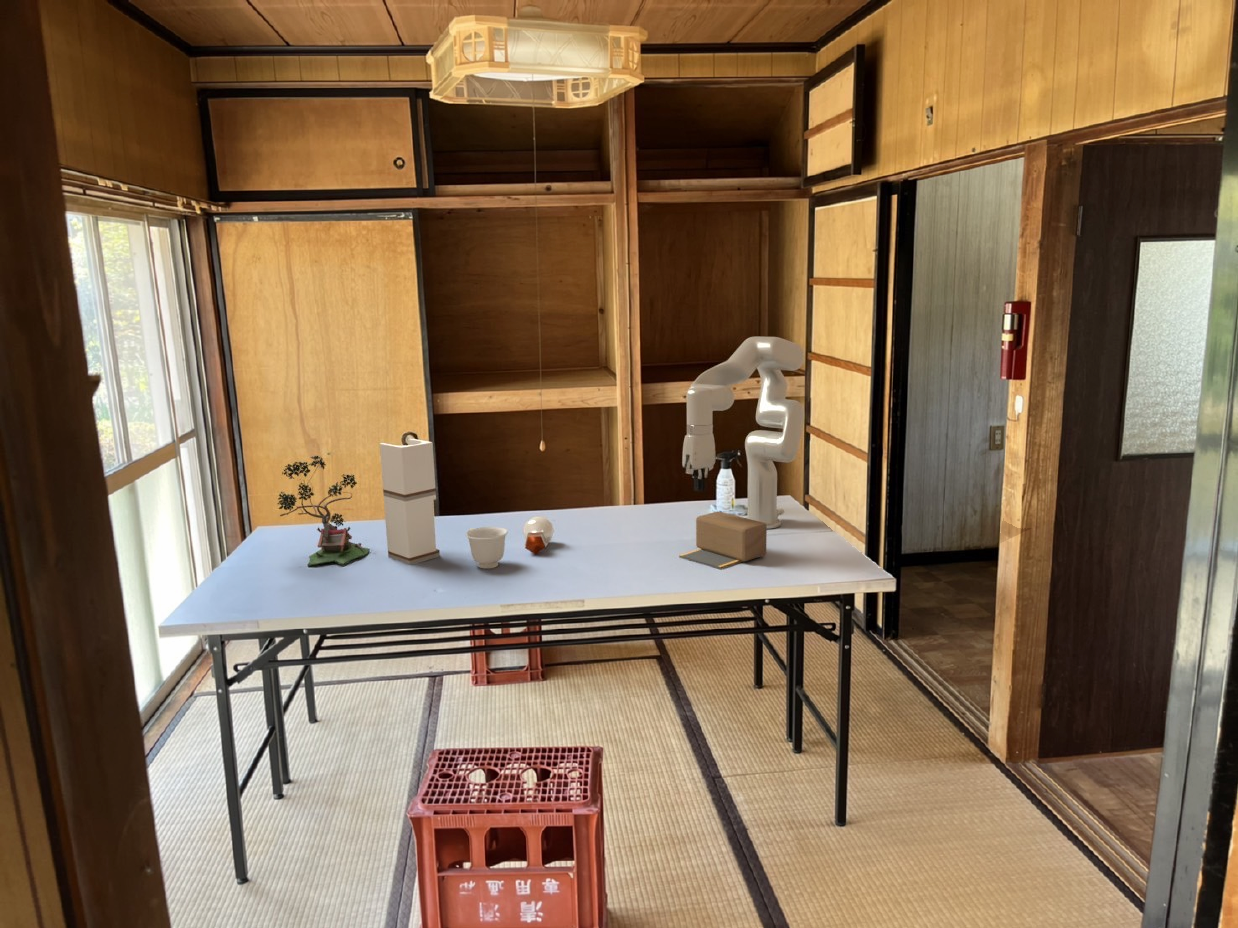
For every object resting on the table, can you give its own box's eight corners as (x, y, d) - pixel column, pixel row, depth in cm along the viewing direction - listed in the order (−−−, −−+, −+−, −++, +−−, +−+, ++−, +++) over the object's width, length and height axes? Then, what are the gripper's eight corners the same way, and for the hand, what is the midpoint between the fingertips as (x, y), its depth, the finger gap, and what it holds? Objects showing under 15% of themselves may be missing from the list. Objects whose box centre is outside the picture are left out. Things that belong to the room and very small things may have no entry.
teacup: (487, 554, 262) (485, 522, 260) (517, 565, 251) (516, 531, 249) (453, 564, 254) (451, 531, 252) (483, 575, 243) (481, 540, 241)
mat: (719, 544, 267) (719, 542, 267) (760, 555, 255) (760, 553, 255) (679, 557, 255) (679, 555, 255) (720, 569, 244) (720, 567, 243)
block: (717, 541, 268) (767, 555, 253) (694, 548, 262) (744, 562, 247) (717, 510, 266) (768, 522, 251) (694, 516, 260) (745, 529, 245)
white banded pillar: (439, 556, 261) (432, 442, 254) (409, 564, 254) (401, 447, 247) (418, 549, 269) (410, 438, 262) (388, 557, 261) (379, 443, 254)
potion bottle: (544, 544, 276) (540, 564, 262) (519, 528, 274) (513, 547, 260) (560, 522, 274) (557, 541, 259) (534, 505, 272) (530, 524, 258)
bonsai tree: (300, 545, 275) (290, 448, 269) (377, 543, 276) (369, 446, 270) (257, 582, 241) (245, 471, 235) (345, 579, 242) (336, 469, 235)
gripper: (707, 425, 261) (707, 484, 265) (672, 431, 252) (673, 493, 255) (726, 428, 256) (725, 488, 260) (691, 434, 246) (691, 497, 250)
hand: (699, 490), depth 257 cm, fingers closed
